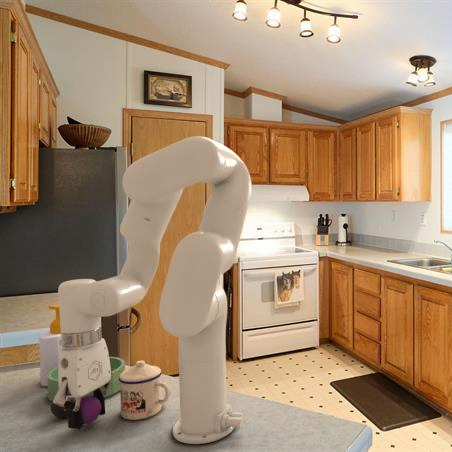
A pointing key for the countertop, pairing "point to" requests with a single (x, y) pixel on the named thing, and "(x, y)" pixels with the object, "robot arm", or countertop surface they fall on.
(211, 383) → the robot arm
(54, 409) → the charcoal ball
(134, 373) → the teacup with lid
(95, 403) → the purple ball
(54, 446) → the countertop surface
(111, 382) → the green bowl
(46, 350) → the soap bottle
